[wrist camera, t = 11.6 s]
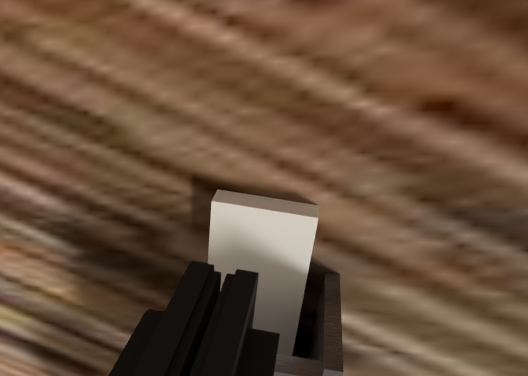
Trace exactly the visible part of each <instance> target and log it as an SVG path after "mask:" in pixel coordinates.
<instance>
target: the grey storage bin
mask: <svg viewBox="0 0 528 376" xmlns="http://www.w3.org/2000/svg"><path fill="white" fill-rule="evenodd" d="M274 376H343V351H342V325H341V300H340V275H339V274H335V273H329V272H325V275H324V280H323V285H322V290H321V295H320V301H319V306H318V311H317V316H316V321H315V326H314V332H313V337H312V342H311V347H310V352H309V357H308V359H306V358H300V357H295V356H289V355H283V354H278V353H277V356H276V363H275V369H274Z"/></svg>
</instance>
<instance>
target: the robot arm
mask: <svg viewBox="0 0 528 376" xmlns="http://www.w3.org/2000/svg"><path fill="white" fill-rule="evenodd" d="M258 277H259V273H258V272H252V271H246V270H241V269H237V270H236V272H235V274H229V273H227V275H226V277H225V280H224V282H223V285H222V288H221V291H220V287H221V272H218V271H214V265H212V264H207V263H201V262H195V261H191V262H190V264H189V266H188V268H187V270H186V271H185V273H184V275H183V277H182V279H181V281H180V283H179V285H178V287H177V289H176V291H175V293H174V295H173V297H172V299H171V301H170V303H169V305H168V306H167V308H166V310H165V312H162V311H157V310H152V309H149V310H147V311H146V312H145V314H144V315H143V317H142V318H141V320H140V322H139V324H138V325H137V327H136V329H135V331H134V332H133V334H132V336H131V338H130V339H129V341H128V343H127V345H126V346H125V348H124V350H123V351H122V353H121V355H120V357H119V358H118V360H117V362H116V364H115V365H114V367H113V369H112V371H111V372H110V374H109V376H274V369H275V363H276V356H277V350H278V343H279V337H280V334H279V333H274V332H269V331H263V330H258V329H253V328H252V327H253V319H254V311H255V302H256V294H257V286H258Z"/></svg>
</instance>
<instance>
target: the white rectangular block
mask: <svg viewBox="0 0 528 376" xmlns="http://www.w3.org/2000/svg"><path fill="white" fill-rule="evenodd" d="M318 214H319V205H313V204H306V203H300V202H294V201H288V200H281V199H275V198H269V197H263V196H256V195H250V194H244V193H237V192H231V191H225V190H219V189H218V190H217V192H216V194H215V196H214V197H213V199H212V202H211V219H210V235H209V252H208V264H212V265H214V271H218V272H221V287H220V291H221V288H222V285H223V282H224V280H225V277H226V275H227V273H229V274H235V272H236V270H237V269H241V270H246V271H252V272H258V273H259V277H258V286H257V294H256V302H255V311H254V319H253V327H252V328H253V329H258V330H263V331H269V332H274V333H279V334H280V337H279V343H278V350H277V353H278V354H283V355H289V356H292V354H293V349H294V343H295V338H296V333H297V328H298V322H299V317H300V312H301V307H302V301H303V296H304V291H305V286H306V280H307V275H308V270H309V265H310V259H311V254H312V249H313V244H314V238H315V233H316V228H317V223H318Z"/></svg>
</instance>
